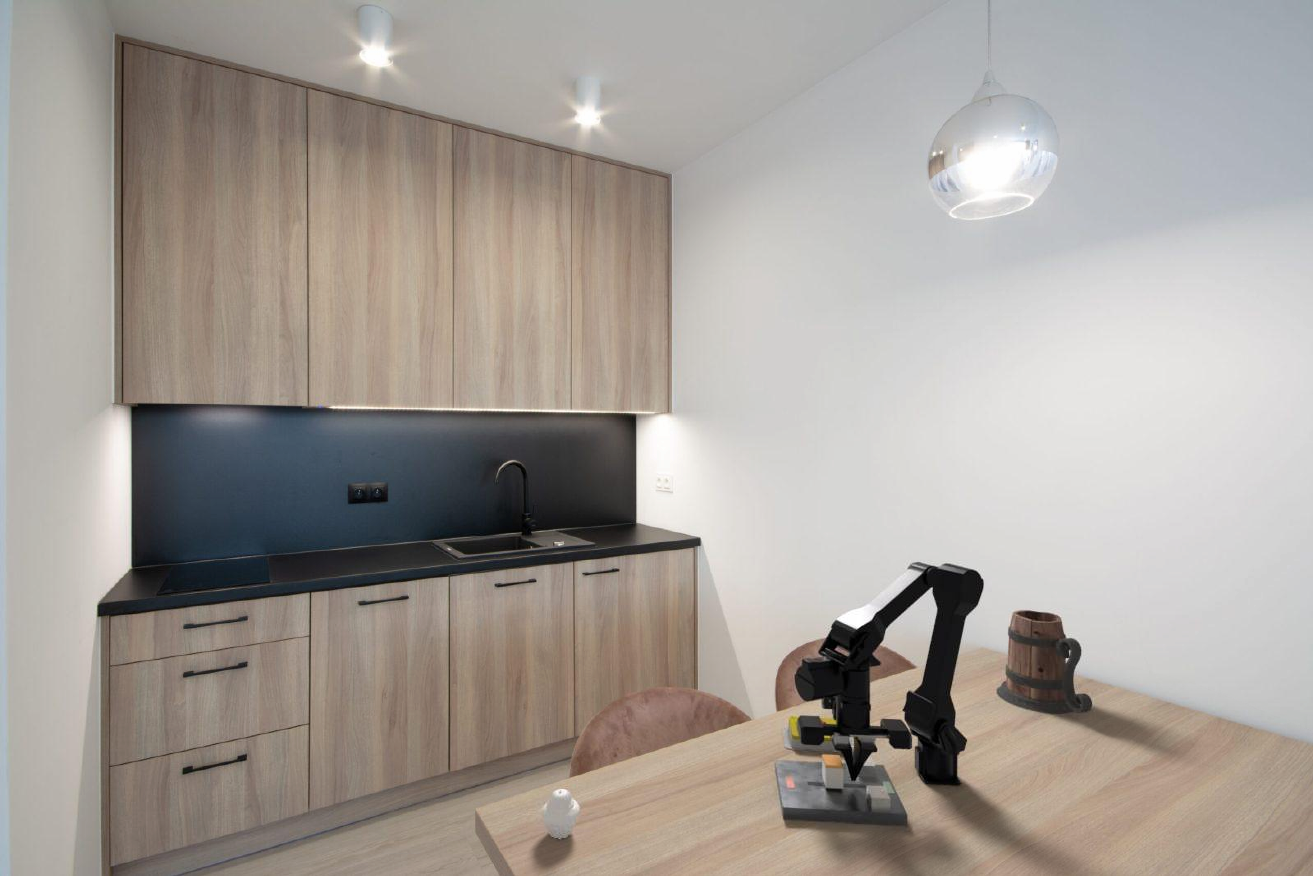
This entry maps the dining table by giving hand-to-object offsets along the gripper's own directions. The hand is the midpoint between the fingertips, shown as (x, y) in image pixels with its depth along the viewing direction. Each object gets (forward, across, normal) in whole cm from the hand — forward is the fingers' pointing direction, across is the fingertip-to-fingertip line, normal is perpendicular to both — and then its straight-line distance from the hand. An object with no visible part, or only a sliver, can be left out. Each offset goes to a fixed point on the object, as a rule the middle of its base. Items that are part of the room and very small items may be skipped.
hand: (852, 779), depth 111 cm
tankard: (+3, -53, -42) cm, 68 cm away
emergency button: (+4, +2, -20) cm, 21 cm away
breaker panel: (+3, +3, 0) cm, 4 cm away
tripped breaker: (+1, +3, 0) cm, 3 cm away
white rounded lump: (+4, +49, +14) cm, 51 cm away
